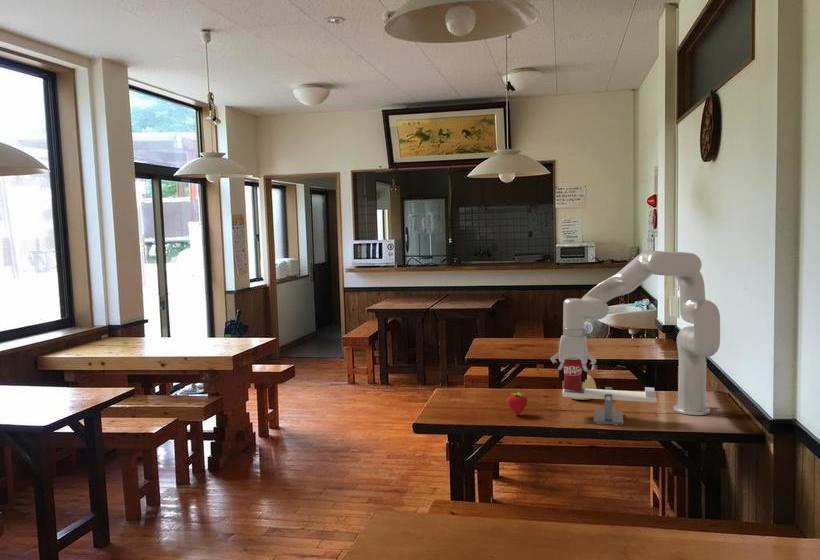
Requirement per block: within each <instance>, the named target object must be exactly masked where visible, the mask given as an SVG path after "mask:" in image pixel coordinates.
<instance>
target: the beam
mask: <svg viewBox="0 0 820 560" xmlns="http://www.w3.org/2000/svg"><path fill="white" fill-rule="evenodd" d="M605 394H612V401H624V402H625V401H627V402H639V403H640V402H643V403H657V402H658V401H657V400H658V399H657V394H656V390H655V387H649V386H648V387H647V386H645V387H644V391H635V390H634V391H633V390H632V391H629V390H620V389H619V390H617V389H616V390H614V389H612V390H605V389H600V388H596V389H585V388H583V390H582V391H579V392H569V391H565V390H564V389H563V388H562V393H561V396H562V398H564V397H565V398H570V397H577V398H591V399H593V400H605Z"/></svg>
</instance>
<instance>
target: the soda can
mask: <svg viewBox="0 0 820 560" xmlns="http://www.w3.org/2000/svg"><path fill="white" fill-rule="evenodd" d="M562 368H563V381H562V390H563V389H564V390H565V391H569V392H579V391H582V390H583V370H584V369H583V367H582V364H581V360H580V359H568V358H566V359H565V360H564V364H563V367H562Z"/></svg>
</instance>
